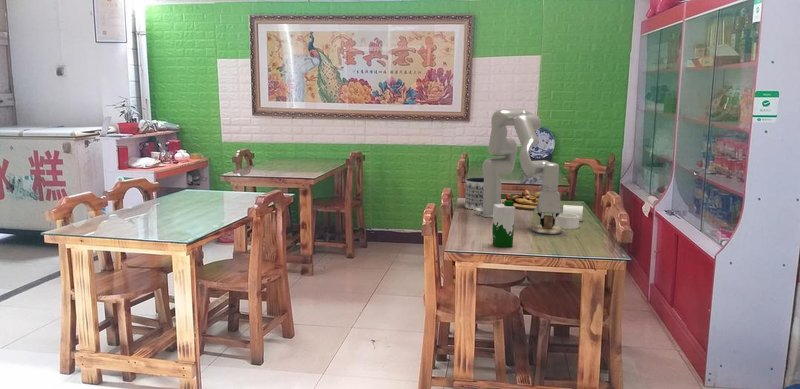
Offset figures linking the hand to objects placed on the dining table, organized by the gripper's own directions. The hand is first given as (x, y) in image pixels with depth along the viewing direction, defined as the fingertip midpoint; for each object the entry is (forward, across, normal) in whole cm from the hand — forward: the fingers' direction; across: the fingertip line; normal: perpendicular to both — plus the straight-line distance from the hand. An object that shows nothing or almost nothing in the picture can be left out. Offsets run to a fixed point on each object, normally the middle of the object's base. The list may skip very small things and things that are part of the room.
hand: (547, 225), depth 304 cm
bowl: (+3, +13, +13) cm, 19 cm away
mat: (+3, 0, 0) cm, 4 cm away
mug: (+4, +21, +32) cm, 38 cm away
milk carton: (+3, -26, -25) cm, 36 cm away
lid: (+2, 0, 0) cm, 2 cm away
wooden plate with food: (+5, +7, +71) cm, 72 cm away
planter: (+5, -24, +62) cm, 66 cm away
